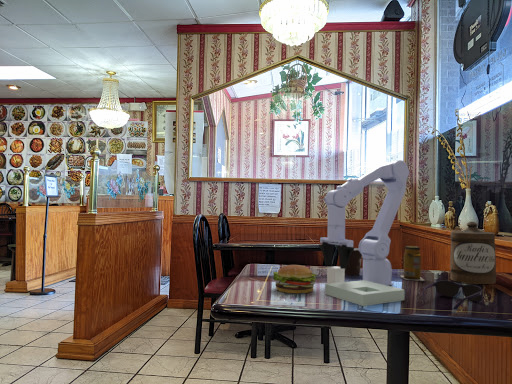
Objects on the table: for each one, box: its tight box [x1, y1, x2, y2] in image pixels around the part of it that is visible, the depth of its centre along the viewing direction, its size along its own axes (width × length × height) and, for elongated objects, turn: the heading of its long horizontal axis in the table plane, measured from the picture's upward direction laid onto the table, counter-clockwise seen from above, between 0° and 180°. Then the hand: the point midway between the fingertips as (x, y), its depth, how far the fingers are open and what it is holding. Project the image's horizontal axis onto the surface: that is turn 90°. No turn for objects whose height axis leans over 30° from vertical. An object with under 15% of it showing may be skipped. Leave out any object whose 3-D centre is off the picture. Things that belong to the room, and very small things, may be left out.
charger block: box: [326, 265, 346, 284], centre depth 131 cm, size 4×4×6 cm
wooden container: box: [449, 221, 497, 285], centre depth 147 cm, size 15×15×22 cm
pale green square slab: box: [324, 279, 405, 307], centre depth 117 cm, size 16×16×3 cm
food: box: [272, 264, 318, 295], centre depth 126 cm, size 14×14×8 cm
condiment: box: [400, 245, 425, 282], centre depth 150 cm, size 7×8×12 cm
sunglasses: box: [422, 279, 484, 310], centre depth 113 cm, size 14×16×5 cm
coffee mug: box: [345, 247, 363, 277], centre depth 156 cm, size 12×9×10 cm
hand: (335, 266), depth 131 cm, fingers open, 7 cm apart
